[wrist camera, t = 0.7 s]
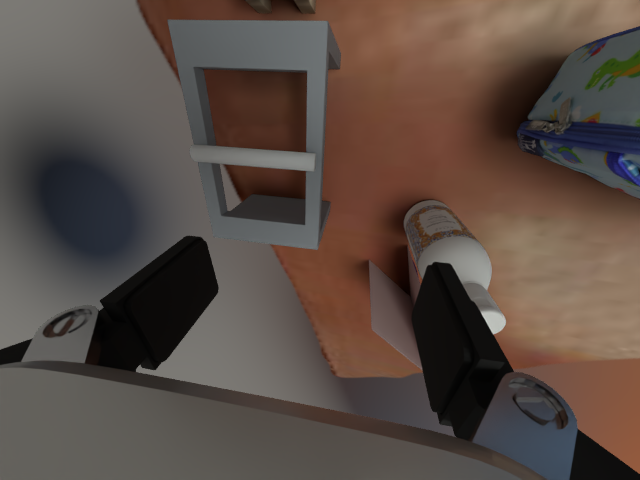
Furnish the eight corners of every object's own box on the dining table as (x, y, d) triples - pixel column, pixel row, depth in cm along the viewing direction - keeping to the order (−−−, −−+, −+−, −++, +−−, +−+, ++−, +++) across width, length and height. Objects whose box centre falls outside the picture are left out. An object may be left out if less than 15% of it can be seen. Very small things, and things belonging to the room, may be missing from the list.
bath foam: (451, 194, 33) (545, 286, 16) (451, 236, 36) (531, 351, 19) (400, 203, 35) (437, 295, 18) (405, 243, 38) (440, 353, 21)
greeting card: (415, 297, 43) (438, 377, 30) (375, 299, 45) (379, 375, 32) (413, 244, 38) (438, 314, 25) (367, 249, 40) (369, 317, 27)
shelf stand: (236, 51, 29) (151, 12, 17) (340, 53, 27) (324, 13, 16) (253, 202, 39) (206, 243, 27) (329, 210, 37) (315, 257, 26)
